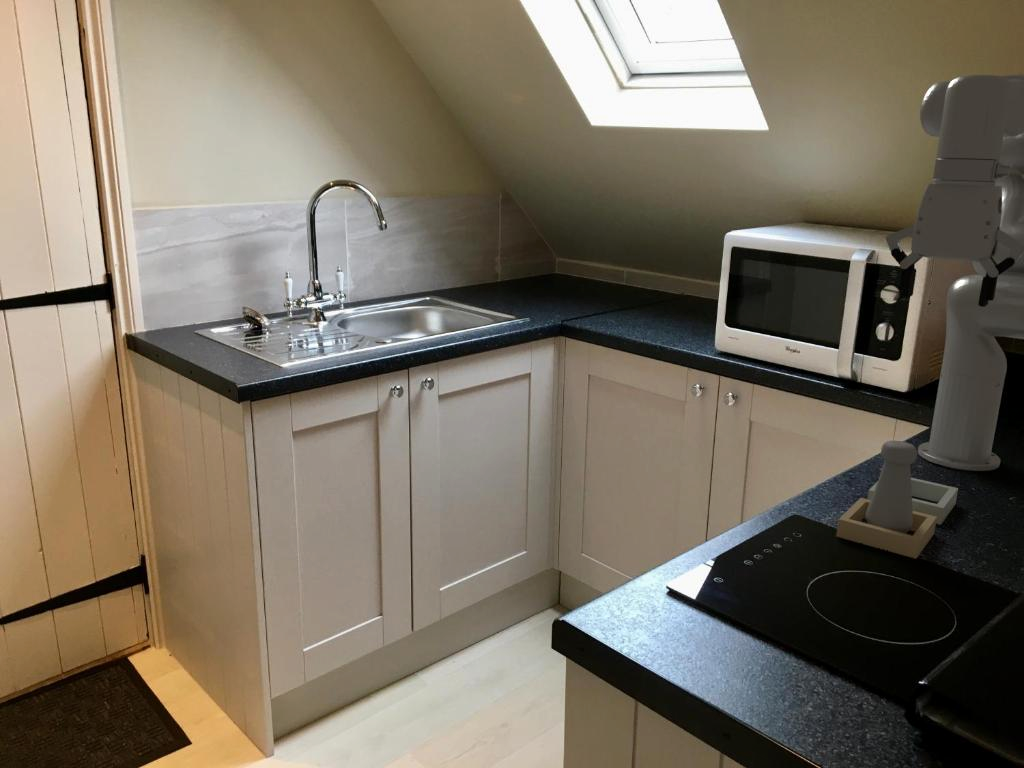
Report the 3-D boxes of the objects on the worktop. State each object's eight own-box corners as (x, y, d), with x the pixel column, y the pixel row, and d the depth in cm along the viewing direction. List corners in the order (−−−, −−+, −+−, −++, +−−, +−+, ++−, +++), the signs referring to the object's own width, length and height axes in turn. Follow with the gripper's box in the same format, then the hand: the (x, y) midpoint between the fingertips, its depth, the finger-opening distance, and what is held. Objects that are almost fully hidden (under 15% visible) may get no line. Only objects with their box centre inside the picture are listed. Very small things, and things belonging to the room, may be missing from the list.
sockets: (884, 487, 132) (887, 472, 132) (955, 504, 127) (958, 488, 126) (836, 536, 114) (838, 519, 113) (916, 558, 108) (919, 540, 107)
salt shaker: (897, 526, 118) (911, 436, 115) (918, 544, 112) (933, 450, 109) (856, 525, 118) (869, 436, 114) (874, 543, 112) (889, 450, 109)
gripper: (1043, 176, 112) (1019, 306, 116) (903, 172, 122) (886, 291, 126) (1035, 176, 106) (1010, 312, 110) (889, 171, 116) (871, 296, 120)
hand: (944, 301), depth 118 cm, fingers open, 9 cm apart
